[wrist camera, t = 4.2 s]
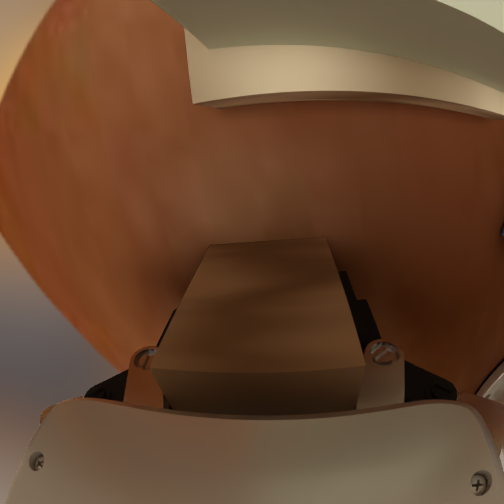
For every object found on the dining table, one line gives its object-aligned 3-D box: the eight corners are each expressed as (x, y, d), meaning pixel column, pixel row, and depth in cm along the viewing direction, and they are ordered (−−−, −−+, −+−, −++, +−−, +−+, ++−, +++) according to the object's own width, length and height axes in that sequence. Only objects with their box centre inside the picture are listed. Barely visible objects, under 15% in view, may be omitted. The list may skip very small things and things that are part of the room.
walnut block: (325, 237, 12) (365, 364, 5) (324, 327, 14) (340, 451, 8) (209, 245, 12) (149, 367, 6) (228, 331, 14) (200, 451, 8)
